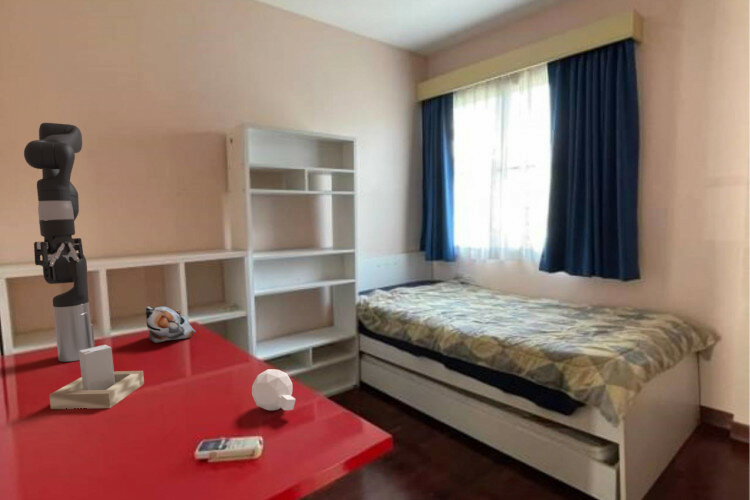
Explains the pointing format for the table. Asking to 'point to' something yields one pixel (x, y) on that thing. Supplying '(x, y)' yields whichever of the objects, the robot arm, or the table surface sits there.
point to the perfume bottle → (273, 390)
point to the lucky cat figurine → (167, 324)
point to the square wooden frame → (96, 392)
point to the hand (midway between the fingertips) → (62, 278)
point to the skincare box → (97, 368)
